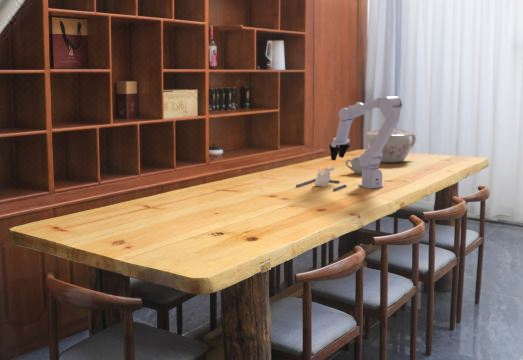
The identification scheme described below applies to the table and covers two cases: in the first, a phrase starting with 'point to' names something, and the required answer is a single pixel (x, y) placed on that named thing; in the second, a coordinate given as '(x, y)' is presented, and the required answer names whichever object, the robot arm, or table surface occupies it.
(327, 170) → the white figurine
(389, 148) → the chamber pot
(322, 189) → the table surface
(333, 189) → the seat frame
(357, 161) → the teacup
